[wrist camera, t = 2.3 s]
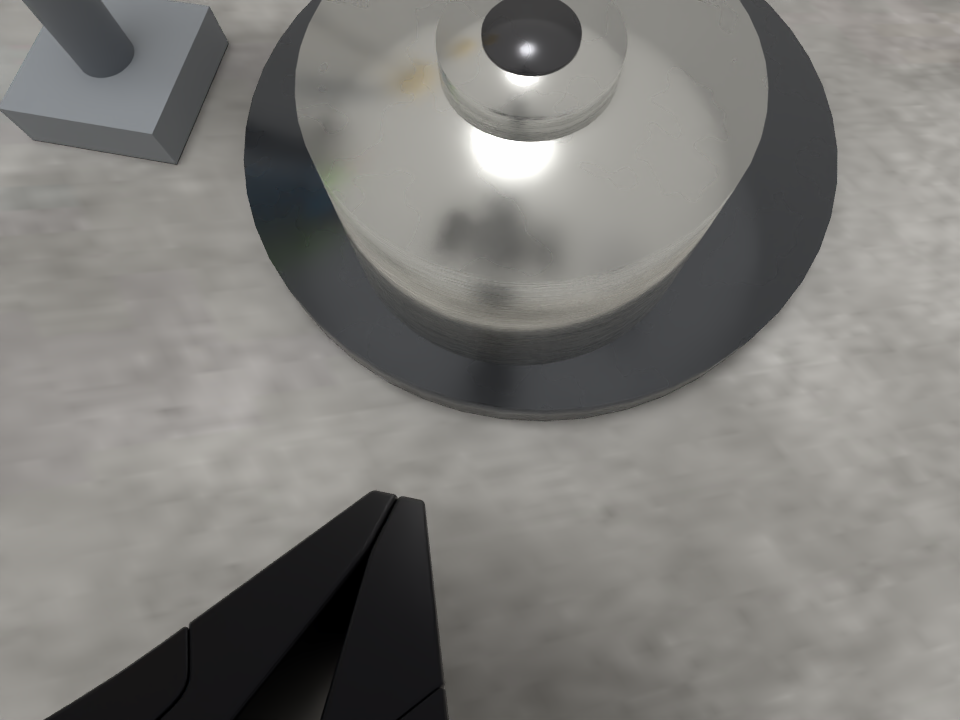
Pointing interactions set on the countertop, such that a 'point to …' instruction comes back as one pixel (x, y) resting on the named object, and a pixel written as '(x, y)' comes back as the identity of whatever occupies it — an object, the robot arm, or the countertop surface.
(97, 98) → the gauge stand
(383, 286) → the cover
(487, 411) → the turntable
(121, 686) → the robot arm
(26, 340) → the countertop surface
